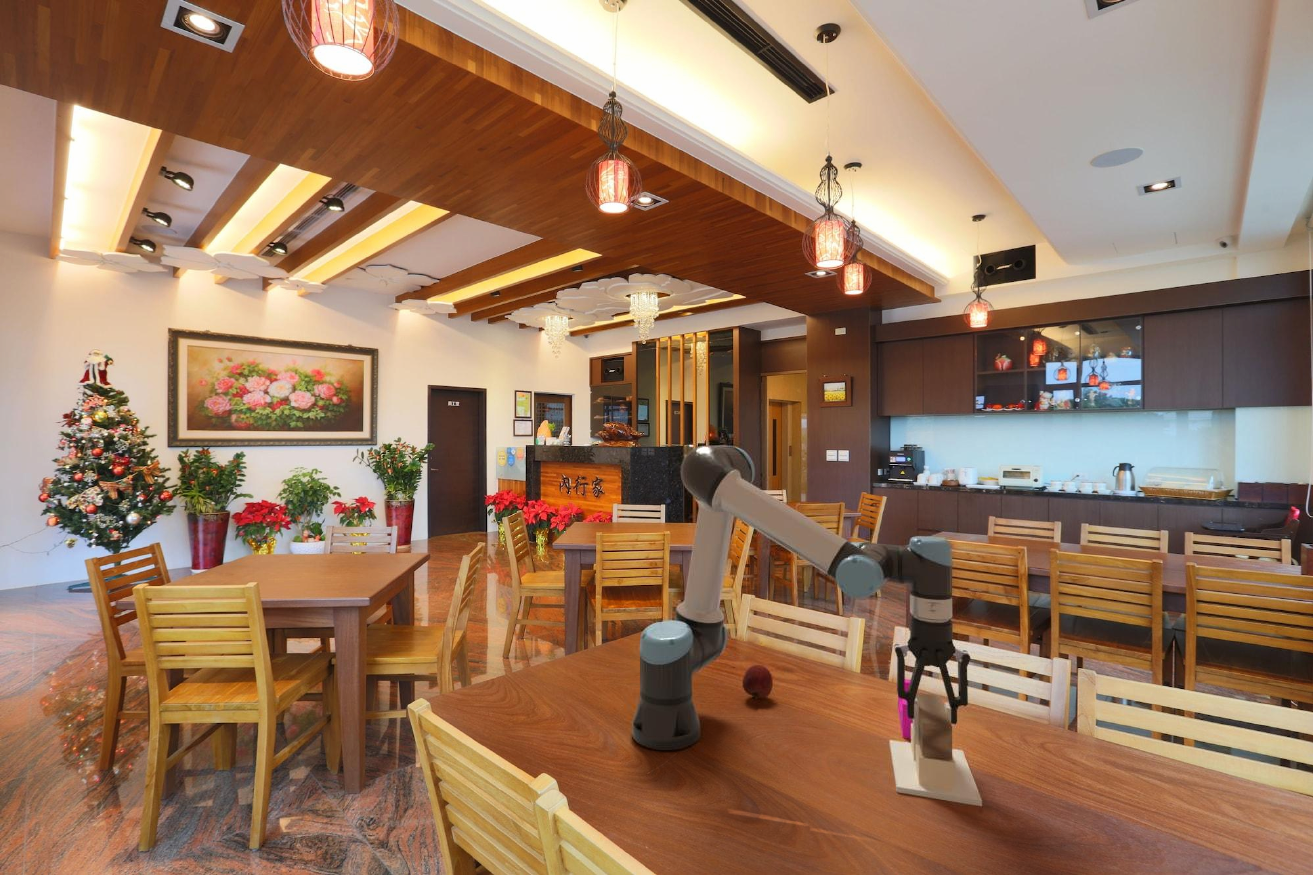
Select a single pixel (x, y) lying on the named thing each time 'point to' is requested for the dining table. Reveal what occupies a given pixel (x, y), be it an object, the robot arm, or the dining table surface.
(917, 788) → the post board
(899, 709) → the toy block
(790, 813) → the dining table surface
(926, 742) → the lintel block
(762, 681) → the apple
